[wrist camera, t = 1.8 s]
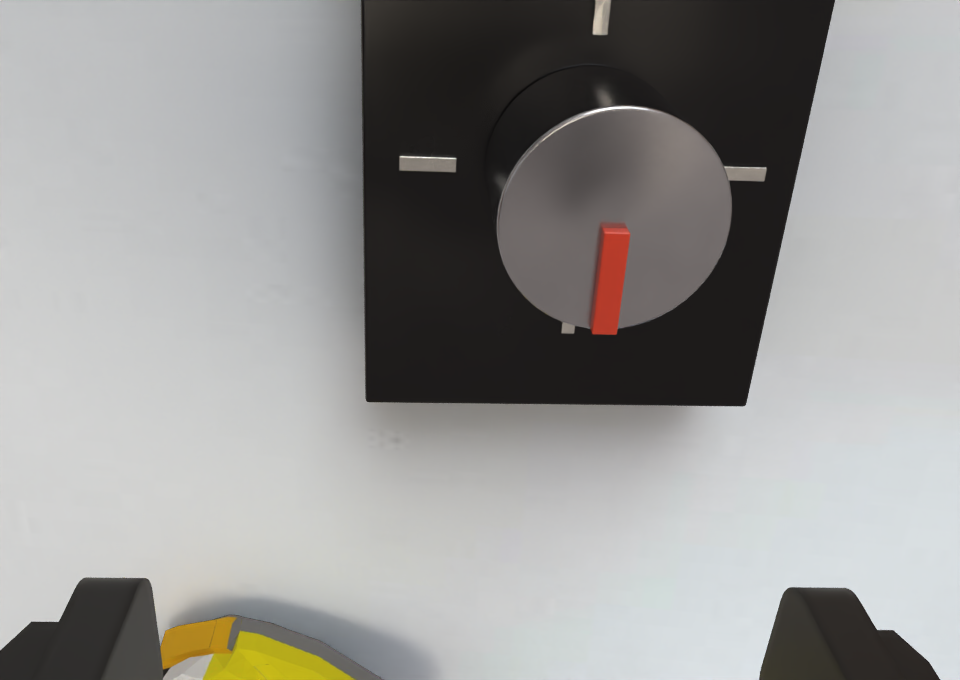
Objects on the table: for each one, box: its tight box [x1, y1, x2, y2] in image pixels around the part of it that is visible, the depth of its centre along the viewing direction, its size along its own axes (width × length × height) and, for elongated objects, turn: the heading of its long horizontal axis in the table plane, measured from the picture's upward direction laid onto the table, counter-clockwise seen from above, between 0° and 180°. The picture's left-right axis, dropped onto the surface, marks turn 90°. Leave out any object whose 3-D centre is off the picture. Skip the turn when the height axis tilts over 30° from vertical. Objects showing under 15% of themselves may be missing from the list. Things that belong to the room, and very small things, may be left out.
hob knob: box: [485, 66, 732, 335], centre depth 21 cm, size 5×5×4 cm
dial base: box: [361, 0, 835, 406], centre depth 24 cm, size 14×11×4 cm
